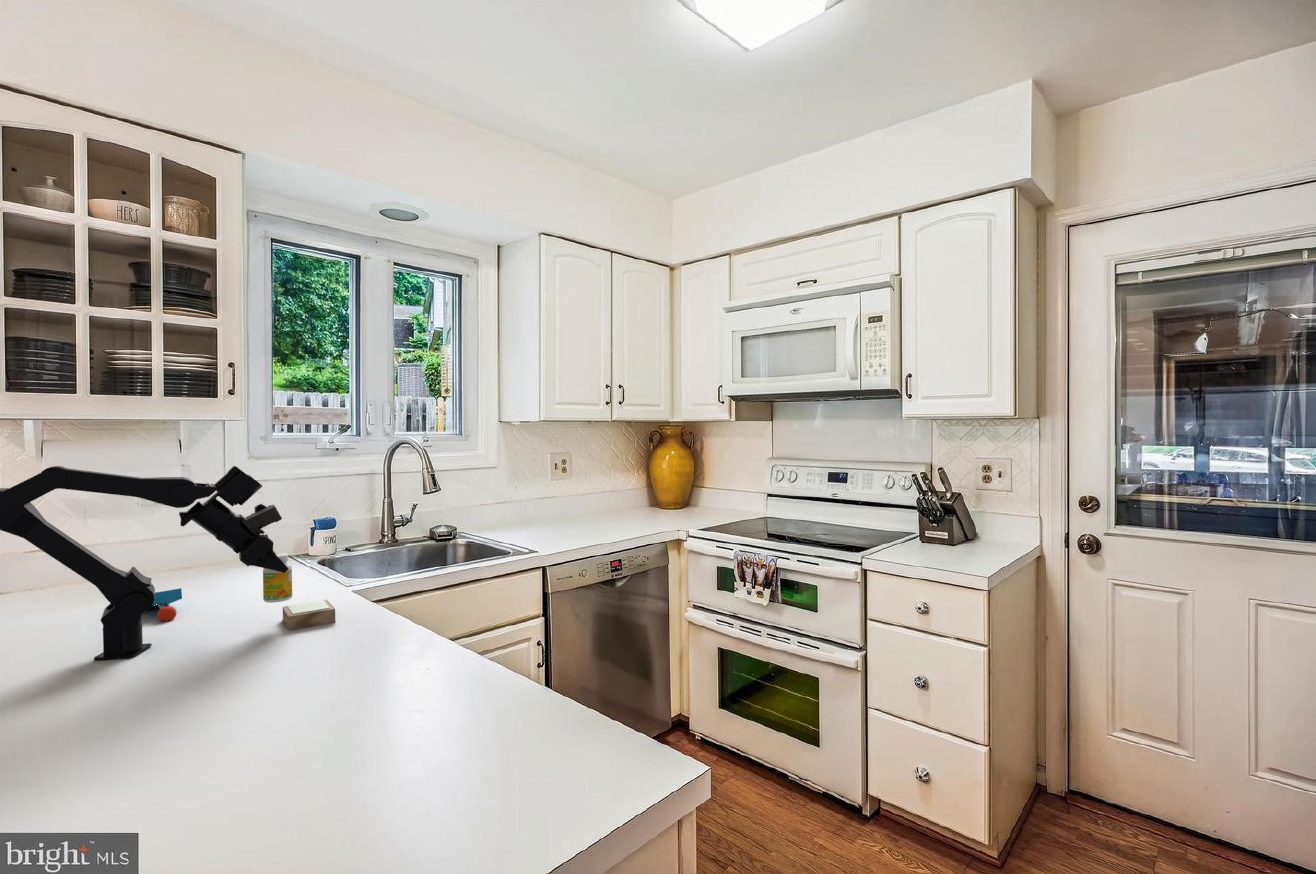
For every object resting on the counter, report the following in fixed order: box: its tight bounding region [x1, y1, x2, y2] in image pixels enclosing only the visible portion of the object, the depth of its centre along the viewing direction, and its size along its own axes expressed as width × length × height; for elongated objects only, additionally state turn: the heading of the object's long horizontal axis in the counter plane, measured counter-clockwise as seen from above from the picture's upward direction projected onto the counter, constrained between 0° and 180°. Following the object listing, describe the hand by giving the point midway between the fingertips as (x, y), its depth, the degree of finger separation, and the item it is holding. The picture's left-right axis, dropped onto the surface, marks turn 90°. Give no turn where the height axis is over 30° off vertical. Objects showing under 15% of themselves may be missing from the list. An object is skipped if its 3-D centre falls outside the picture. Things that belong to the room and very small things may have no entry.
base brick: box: [282, 599, 336, 631], centre depth 139 cm, size 9×9×3 cm
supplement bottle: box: [262, 552, 293, 604], centre depth 136 cm, size 5×5×10 cm
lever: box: [150, 588, 183, 622], centre depth 145 cm, size 7×7×18 cm
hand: (285, 568), depth 136 cm, fingers closed on supplement bottle, 5 cm apart
